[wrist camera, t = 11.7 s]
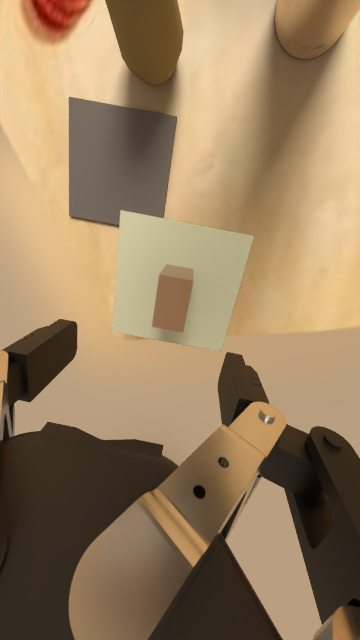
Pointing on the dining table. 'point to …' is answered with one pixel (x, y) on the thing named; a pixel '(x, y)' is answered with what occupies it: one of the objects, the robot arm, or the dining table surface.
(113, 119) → the mat
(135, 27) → the squeeze bottle
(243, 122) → the dining table surface
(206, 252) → the cover
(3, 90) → the dining table surface
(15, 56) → the dining table surface
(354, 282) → the dining table surface
